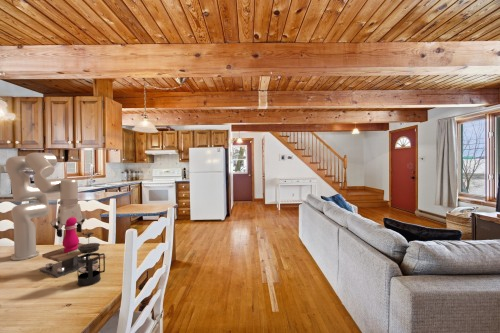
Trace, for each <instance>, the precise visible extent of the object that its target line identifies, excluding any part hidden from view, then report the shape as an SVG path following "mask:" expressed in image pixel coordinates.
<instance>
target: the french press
mask: <svg viewBox="0 0 500 333" xmlns="http://www.w3.org/2000/svg"><path fill="white" fill-rule="evenodd" d="M94 234H95V233H94V232H93V231H92V232H85V233H83V235H82V236H87V242H88V243H83V244H84V245H81V246H79V247H77V249H78V250H79V251H80V252H81V253H83V254H81V255H78V258H77V272H78V274H77V281H76V285H77V286H78V287H89V286H92V285H95V284H98V283H99V282H100V281H101V274H102V273H105V272H106V263H105V261H106V258H105V257H106V254H105V253H104V252H103V253H99V252H97V251H99V250H100V246H101V243H99V242H91V243H90V237H91V236H93V235H94ZM92 256H96V257H92ZM101 256H103V258H102V259H103V264H102V266H103V270H101ZM84 257H85V259H86V260H79V259H81V258H84ZM91 257H92V258H91ZM95 260H98V263H96V264H93V261H95ZM78 262H79V263H86V266H84V267H81V268H80V269H79V270H78ZM79 273H80V274H79Z"/></svg>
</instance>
